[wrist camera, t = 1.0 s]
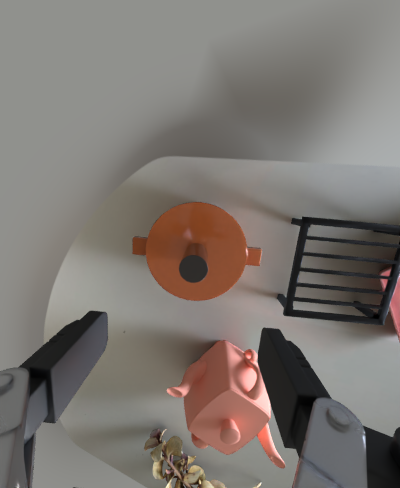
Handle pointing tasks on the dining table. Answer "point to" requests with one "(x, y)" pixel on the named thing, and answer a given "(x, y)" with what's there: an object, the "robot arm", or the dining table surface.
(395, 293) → the plant saucer
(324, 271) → the rack
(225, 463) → the dining table surface
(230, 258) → the lid
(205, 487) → the artificial flower
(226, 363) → the teapot
